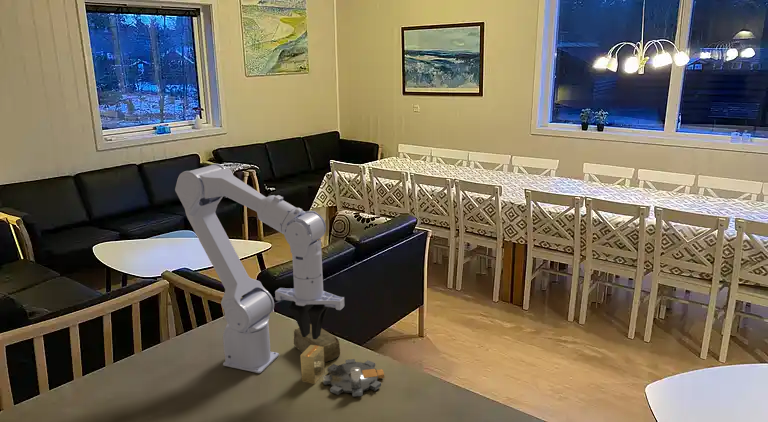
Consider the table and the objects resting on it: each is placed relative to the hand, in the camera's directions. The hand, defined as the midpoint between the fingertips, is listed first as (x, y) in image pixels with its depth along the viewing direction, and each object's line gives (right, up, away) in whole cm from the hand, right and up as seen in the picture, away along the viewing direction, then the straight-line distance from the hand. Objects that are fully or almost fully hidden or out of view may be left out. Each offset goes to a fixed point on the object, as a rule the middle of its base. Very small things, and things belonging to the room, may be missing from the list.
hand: (311, 335), depth 111 cm
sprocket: (+9, -9, +1) cm, 13 cm away
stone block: (0, -7, +12) cm, 14 cm away
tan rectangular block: (0, -9, +3) cm, 10 cm away
